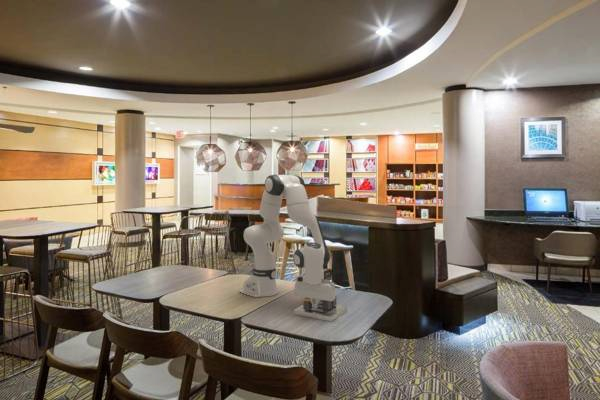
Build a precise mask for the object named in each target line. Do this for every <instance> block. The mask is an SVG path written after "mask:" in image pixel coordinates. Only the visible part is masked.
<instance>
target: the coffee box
mask: <svg viewBox="0 0 600 400" xmlns="http://www.w3.org/2000/svg"><path fill="white" fill-rule="evenodd" d="M323 270H324V279H325V280H331V281H332V282H333V269H332V268H328V267H323ZM314 301H315V299H314ZM319 302H322V300H320V301H319Z"/></svg>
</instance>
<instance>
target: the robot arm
mask: <svg viewBox="0 0 600 400" xmlns="http://www.w3.org/2000/svg"><path fill="white" fill-rule="evenodd" d="M305 185H306V184H305V180H304V179H303V177H301V176H299V175H297V174H270V175H268V176H267V177H266V179H265V180H264V191H263V193H262V197H261V201H260V206H259V210H258V213H259V215H260V217H261V218H263V223H260V224H252V225H251V226H249V227H246V228H245V229H244V230H243V240H244V242H245V244H247V245H249V247H250V248H251V249H252V252H253V257H254V268H251V271H250V272H251V273H252V274H251V275H250V276H249V277H248V278H246V279H245V280H244V282H243V287H242V288H241V289H239V291H238V293H240V292H241V293H240V294H243V293H244V294H243V295H246V294H247V295H246V296H249V295H250V297H252V296H253V298H262V297H273V296H275V295H277V294H279V289H278V286H277V281H276V275H277V272H276V266H275V265H276V262H275V260H276V259H275V258H276V257H275V253H274V252H273V251H272V250H270V249H269V247H268V244H271V243H275V242H278V241H280V240H282V239H283V238H284V235H285V231H284V226H282V225H281V222H280V212H281V207H282V204H283V198H285V201H286V210H287V212H286V213H287V214H288V217H289V219H290V220H291V221H292V222H294V223H296V224H298V225H301V226H304V227H306V228H308V230H309V231H310V232H311V235H312V239H313V242H308V243H306V244H305V246H304V247H303V246H302V247H300V248H297V249H296V250H295V251H294V253H293V256H292V258H293V264H294V265H295V266H296V267H297V268H299V269H304V273H303V274H300V275H297V276H295V283H294V295H295V296H296V297H302V298H306V297H307V298H310V301H311V303H312V308H318V303H319V301H320V300H325V301H333V300H334V299H335V298H336V299H337V295H336V290H335V289H336V284H335V282H334V281H333V280H332V281H331V280H325V279H324V270H323V268H325V267H326V266H327V265H328V264H329V263H330V260H331V252H330V250H329V248H328V246H327V242H326V240H325V237H324V236H325V235H324V233H323V230H322V228H321V224H320V222H319V221H320V220H319V218H318V216H317V215H315V214H314V212H312V210H311V208H310V203H309V197H308V193H307V190H306V188H305ZM314 299H315V301H316V303H315V302H314Z"/></svg>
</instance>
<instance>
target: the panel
mask: <svg viewBox="0 0 600 400" xmlns="http://www.w3.org/2000/svg"><path fill="white" fill-rule="evenodd" d="M314 302H315V303H316V301H314ZM346 312H348V307H347V306H345V305H340V304H336V305H335V306H334V307H332V308H331V309H329V310H325V309H322V302H319V303H318V308H313V309H311V310H309V311H308V310H303V304H302V305H299V306H297V307H296V308H295V309H293V314H294V315H298V316H302V317H307V318H312V319H317V320H321V321H327V322H331V323H332V322H333V321H334V320H336V319H337V318H339V317H340V316H342V315H343V314H345V313H346Z"/></svg>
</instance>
